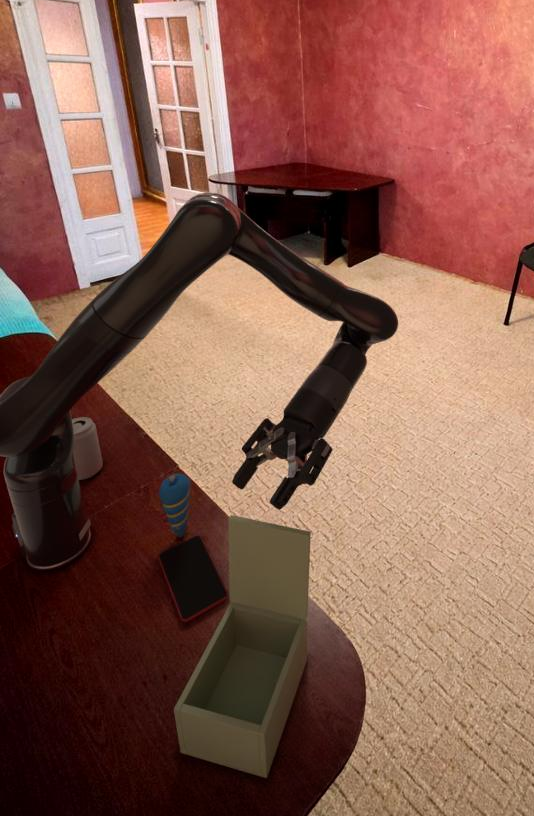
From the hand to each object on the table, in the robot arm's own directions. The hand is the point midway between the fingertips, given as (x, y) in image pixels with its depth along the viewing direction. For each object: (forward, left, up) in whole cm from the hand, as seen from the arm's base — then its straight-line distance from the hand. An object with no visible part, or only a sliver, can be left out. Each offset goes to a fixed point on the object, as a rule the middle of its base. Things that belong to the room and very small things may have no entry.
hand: (254, 496), depth 67 cm
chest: (+3, -11, -25) cm, 28 cm away
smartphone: (-15, +4, -25) cm, 30 cm away
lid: (+3, -4, -9) cm, 10 cm away
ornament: (-21, +11, -26) cm, 35 cm away
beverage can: (-50, +21, -26) cm, 60 cm away
